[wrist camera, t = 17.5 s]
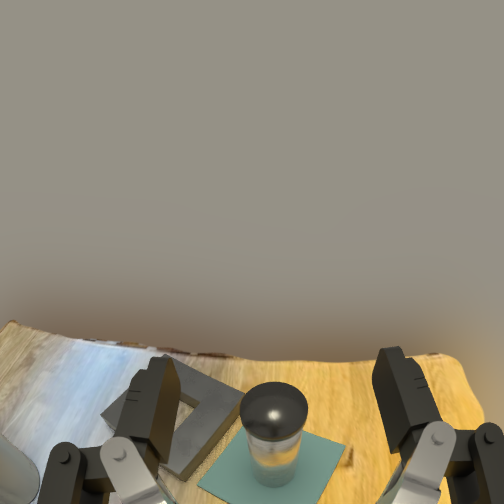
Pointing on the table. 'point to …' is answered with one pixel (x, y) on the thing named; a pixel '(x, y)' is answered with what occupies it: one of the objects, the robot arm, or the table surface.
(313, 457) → the rubber mat
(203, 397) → the collar block
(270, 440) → the tumbler with black lid
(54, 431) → the table surface
